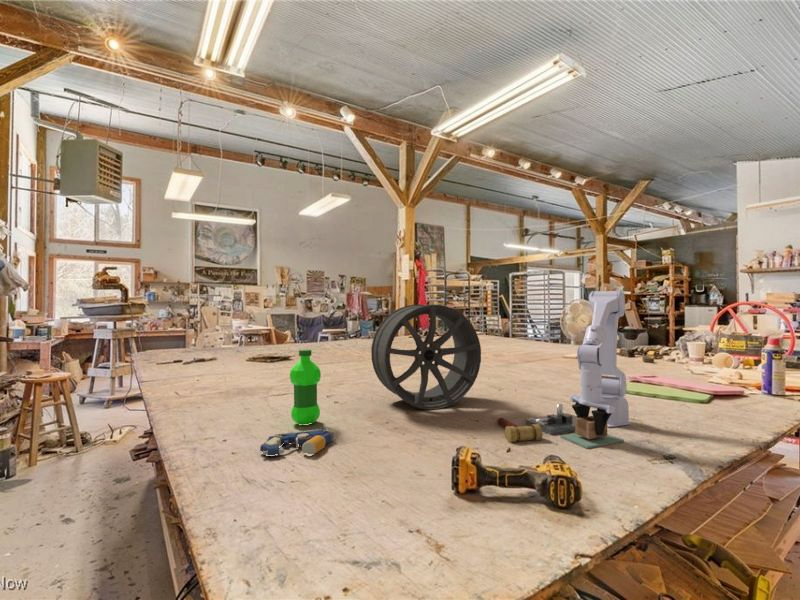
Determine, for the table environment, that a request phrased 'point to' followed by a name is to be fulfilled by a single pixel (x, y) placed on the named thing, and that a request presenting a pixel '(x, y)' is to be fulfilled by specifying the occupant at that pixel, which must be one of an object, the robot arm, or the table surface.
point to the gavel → (520, 431)
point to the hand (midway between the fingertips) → (591, 431)
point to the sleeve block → (587, 427)
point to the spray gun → (298, 441)
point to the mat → (591, 440)
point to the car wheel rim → (429, 356)
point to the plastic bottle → (305, 389)
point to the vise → (555, 422)
